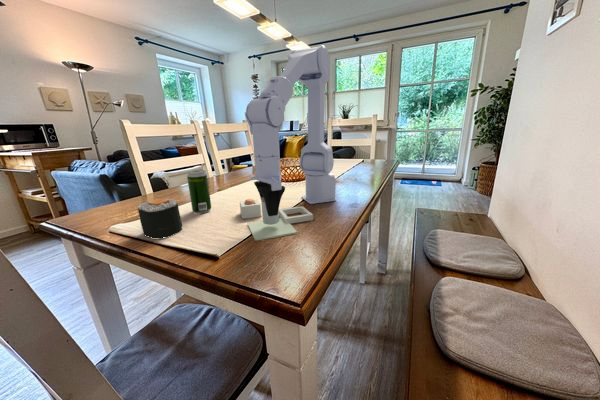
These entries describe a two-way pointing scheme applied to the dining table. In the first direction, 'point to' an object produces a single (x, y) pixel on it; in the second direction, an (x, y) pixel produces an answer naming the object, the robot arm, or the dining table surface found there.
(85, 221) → the dining table surface
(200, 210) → the beer can
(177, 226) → the sushi
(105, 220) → the dining table surface
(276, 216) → the cylinder
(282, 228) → the mat
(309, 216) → the dock
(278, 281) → the dining table surface
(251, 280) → the dining table surface
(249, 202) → the release button
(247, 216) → the button housing
